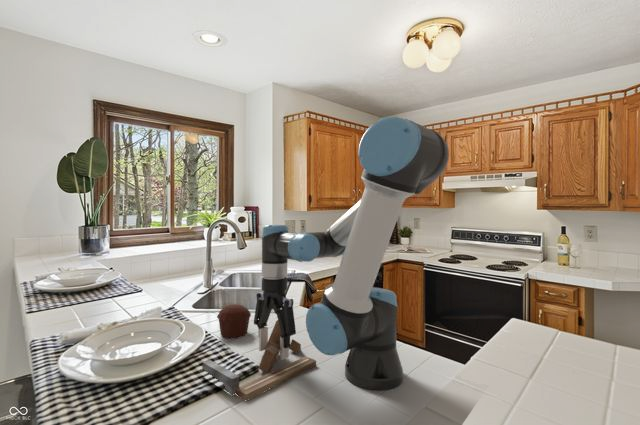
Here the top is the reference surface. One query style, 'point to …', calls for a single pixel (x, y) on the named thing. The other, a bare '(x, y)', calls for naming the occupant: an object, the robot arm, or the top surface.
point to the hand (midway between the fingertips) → (273, 353)
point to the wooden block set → (275, 349)
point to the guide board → (260, 383)
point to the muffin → (234, 321)
